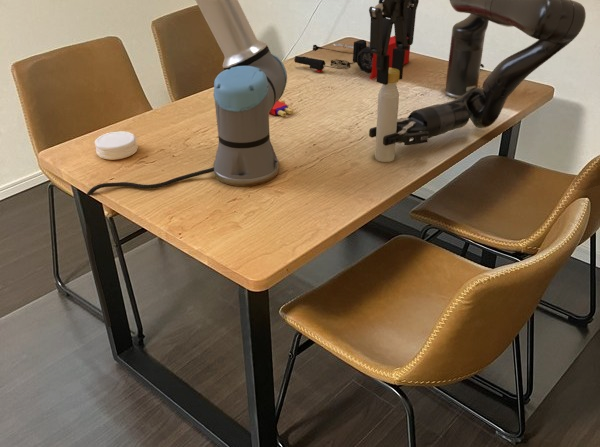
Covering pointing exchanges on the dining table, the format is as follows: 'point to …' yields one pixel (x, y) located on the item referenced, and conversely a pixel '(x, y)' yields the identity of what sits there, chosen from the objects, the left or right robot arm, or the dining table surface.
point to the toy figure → (280, 108)
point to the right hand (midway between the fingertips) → (377, 137)
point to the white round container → (116, 145)
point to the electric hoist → (354, 57)
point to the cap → (393, 75)
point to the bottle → (386, 121)
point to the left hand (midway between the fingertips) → (389, 80)
